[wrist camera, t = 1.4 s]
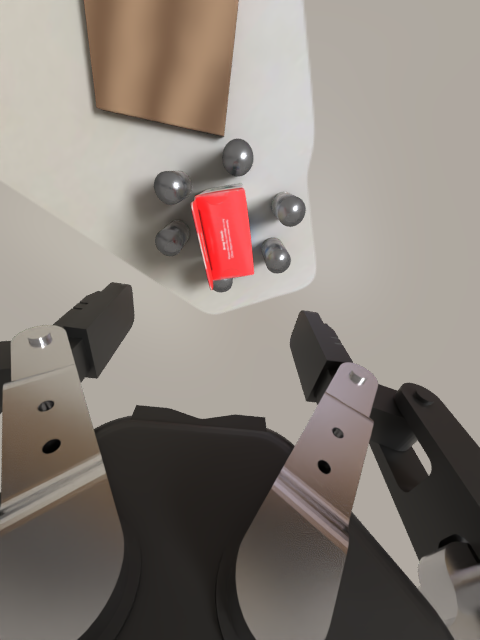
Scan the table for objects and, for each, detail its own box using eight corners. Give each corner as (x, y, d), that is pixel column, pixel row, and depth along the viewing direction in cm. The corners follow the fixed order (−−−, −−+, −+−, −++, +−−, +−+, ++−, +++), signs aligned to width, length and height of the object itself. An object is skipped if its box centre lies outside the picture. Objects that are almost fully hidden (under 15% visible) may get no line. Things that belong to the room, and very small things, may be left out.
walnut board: (101, 109, 27) (96, 107, 26) (77, -115, 19) (68, -130, 18) (223, 136, 28) (223, 135, 27) (245, -62, 21) (245, -74, 20)
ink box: (250, 246, 35) (258, 288, 23) (218, 251, 36) (208, 295, 23) (242, 181, 31) (246, 189, 18) (205, 187, 31) (185, 200, 19)
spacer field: (167, 267, 37) (156, 282, 32) (167, 128, 28) (152, 119, 23) (273, 283, 39) (278, 301, 34) (307, 159, 29) (322, 157, 24)
